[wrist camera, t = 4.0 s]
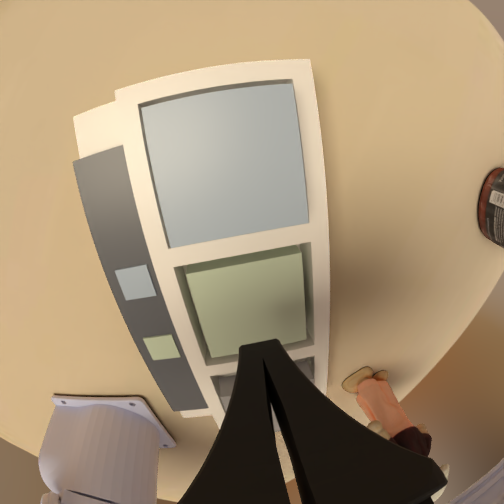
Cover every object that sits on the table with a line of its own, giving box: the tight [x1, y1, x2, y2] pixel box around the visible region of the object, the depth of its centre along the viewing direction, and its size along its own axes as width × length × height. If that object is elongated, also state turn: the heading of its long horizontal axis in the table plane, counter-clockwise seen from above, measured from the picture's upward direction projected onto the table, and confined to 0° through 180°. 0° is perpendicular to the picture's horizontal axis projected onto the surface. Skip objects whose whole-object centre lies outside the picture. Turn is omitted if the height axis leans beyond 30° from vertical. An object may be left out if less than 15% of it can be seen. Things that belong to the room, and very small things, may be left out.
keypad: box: [73, 59, 330, 430], centre depth 13 cm, size 10×20×3 cm, turn 8°
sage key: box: [186, 245, 306, 358], centre depth 13 cm, size 5×5×1 cm
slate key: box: [141, 84, 309, 248], centre depth 9 cm, size 5×5×1 cm
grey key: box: [219, 360, 314, 432], centre depth 14 cm, size 5×5×1 cm
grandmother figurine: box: [342, 367, 449, 502], centre depth 14 cm, size 8×4×13 cm, turn 69°
